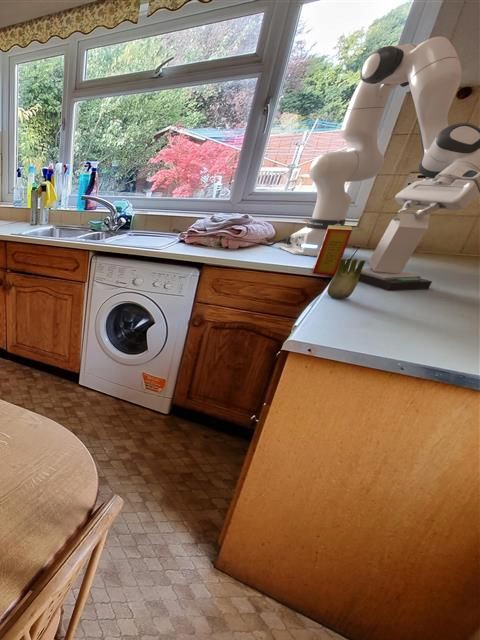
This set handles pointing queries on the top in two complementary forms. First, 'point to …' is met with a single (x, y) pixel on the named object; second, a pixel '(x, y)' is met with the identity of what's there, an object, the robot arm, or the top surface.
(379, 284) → the scale
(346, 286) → the fennel bulb
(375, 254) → the milk carton
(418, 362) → the top surface
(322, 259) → the baking soda box
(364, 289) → the top surface
